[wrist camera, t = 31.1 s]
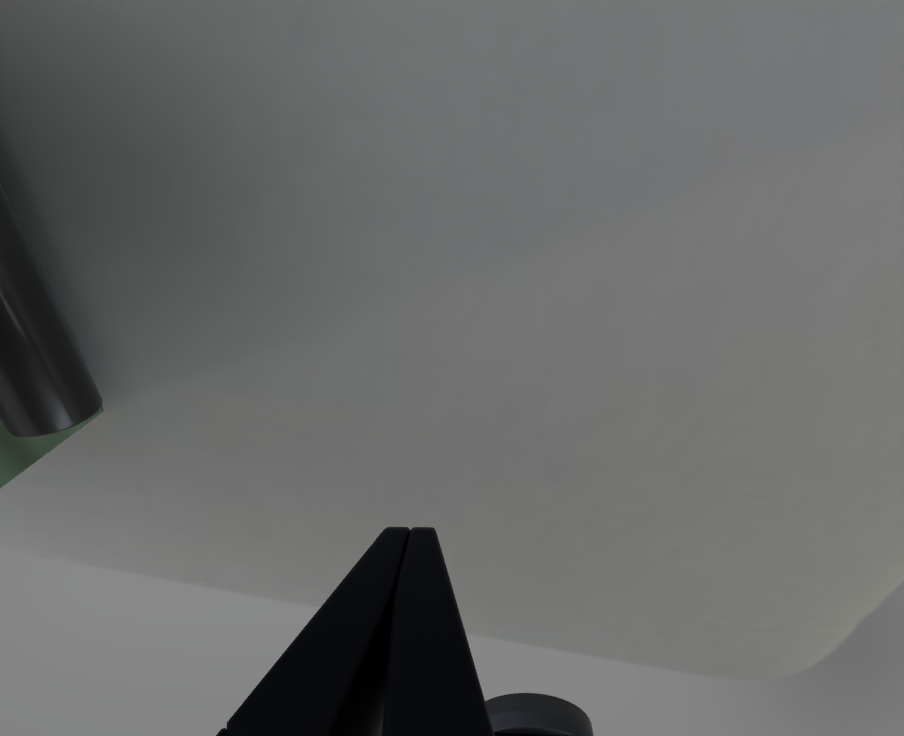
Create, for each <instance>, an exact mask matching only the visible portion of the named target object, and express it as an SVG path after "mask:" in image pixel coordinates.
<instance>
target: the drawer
mask: <svg viewBox="0 0 904 736" xmlns="http://www.w3.org/2000/svg"><path fill="white" fill-rule="evenodd" d="M102 412H103V407H102V398H101V396H100V394H99V392H98V390H97V388H96V385H95V383H94V381H93V379H92V377H91V375H90V373H89V371H88V368H87V366H86V364H85V362H84V360H83V358H82V356H81V354H80V351H79V349H78V347H77V345H76V343H75V341H74V339H73V337H72V334H71V332H70V330H69V328H68V326H67V324H66V322H65V320H64V317H63V315H62V313H61V311H60V309H59V307H58V305H57V303H56V300H55V298H54V296H53V294H52V292H51V290H50V288H49V286H48V283H47V281H46V279H45V277H44V275H43V273H42V271H41V269H40V266H39V264H38V262H37V260H36V258H35V256H34V254H33V252H32V249H31V247H30V245H29V243H28V241H27V239H26V237H25V235H24V232H23V230H22V228H21V226H20V224H19V222H18V220H17V218H16V215H15V213H14V211H13V209H12V207H11V205H10V203H9V201H8V198H7V196H6V194H5V192H4V190H3V188H2V186H1V184H0V488H1V487H3V486H4V485H5V484H7V483H8V482H9V481H11V480H12V479H13V478H15V477H16V476H17V475H19V474H20V473H21V472H23V471H24V470H25V469H27V468H28V467H29V466H31V465H32V464H33V463H35V462H36V461H37V460H39V459H40V458H41V457H43V456H44V455H45V454H47V453H48V452H49V451H51V450H52V449H53V448H55V447H56V446H57V445H59V444H60V443H61V442H63V441H64V440H65V439H67V438H68V437H70V436H71V435H72V434H74V433H75V432H76V431H78V430H79V429H80V428H82V427H83V426H84V425H86V424H87V423H88V422H90V421H91V420H92V419H94V418H95V417H96V416H98V415H99V414H100V413H102Z"/></svg>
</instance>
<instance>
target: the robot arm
mask: <svg viewBox="0 0 904 736" xmlns="http://www.w3.org/2000/svg"><path fill="white" fill-rule="evenodd" d="M216 736H553V735H534V734H514V733H494V731H493V728H492V724H491V721H490V717H489V714H488V710H487V707H486V703H485V700H484V697H483V693H482V690H481V686H480V683H479V679H478V676H477V672H476V669H475V665H474V662H473V658H472V655H471V652H470V648H469V644H468V641H467V637H466V634H465V630H464V627H463V623H462V620H461V616H460V613H459V610H458V606H457V603H456V599H455V596H454V592H453V589H452V585H451V582H450V578H449V575H448V571H447V568H446V564H445V561H444V557H443V554H442V550H441V547H440V543H439V540H438V536H437V533H436V530H435V529H434V528H432V527H413V528H412V529H411V530H410V529H409V528H408V527H387V528H386V529H384V530H383V531H382V533H381V534H380V535H379V536H378V538H377V539H376V540H375V541H374V542H373V544H372V545H371V546H370V547H369V549H368V550H367V551H366V552H365V554H364V555H363V556H362V557H361V558H360V560H359V561H358V562H357V563H356V565H355V566H354V567H353V568H352V570H351V571H350V572H349V573H348V574H347V576H346V577H345V578H344V579H343V581H342V582H341V583H340V584H339V586H338V587H337V588H336V589H335V590H334V592H333V593H332V594H331V595H330V597H329V598H328V599H327V600H326V602H325V603H324V604H323V605H322V606H321V608H320V609H319V610H318V612H317V613H316V614H315V615H314V616H313V618H312V619H311V620H310V621H309V623H308V624H307V625H306V626H305V627H304V629H303V630H302V631H301V632H300V633H299V635H298V636H297V637H296V638H295V640H294V641H293V642H292V643H291V645H290V646H289V647H288V648H287V650H286V651H285V652H284V653H283V654H282V656H281V657H280V658H279V660H278V661H277V662H276V663H275V664H274V666H273V667H272V668H271V669H270V670H269V672H268V673H267V674H266V675H265V677H264V678H263V679H262V680H261V681H260V683H259V684H258V685H257V686H256V688H255V689H254V690H253V691H252V693H251V694H250V695H249V696H248V698H247V699H246V700H245V701H244V702H243V704H242V705H241V706H240V707H239V709H238V710H237V711H236V712H235V713H234V715H233V716H232V717H231V718H230V720H229V721H228V722H227V729H226V728H223V729H221V730H220V731H219V733H218V734H217V735H216Z"/></svg>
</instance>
